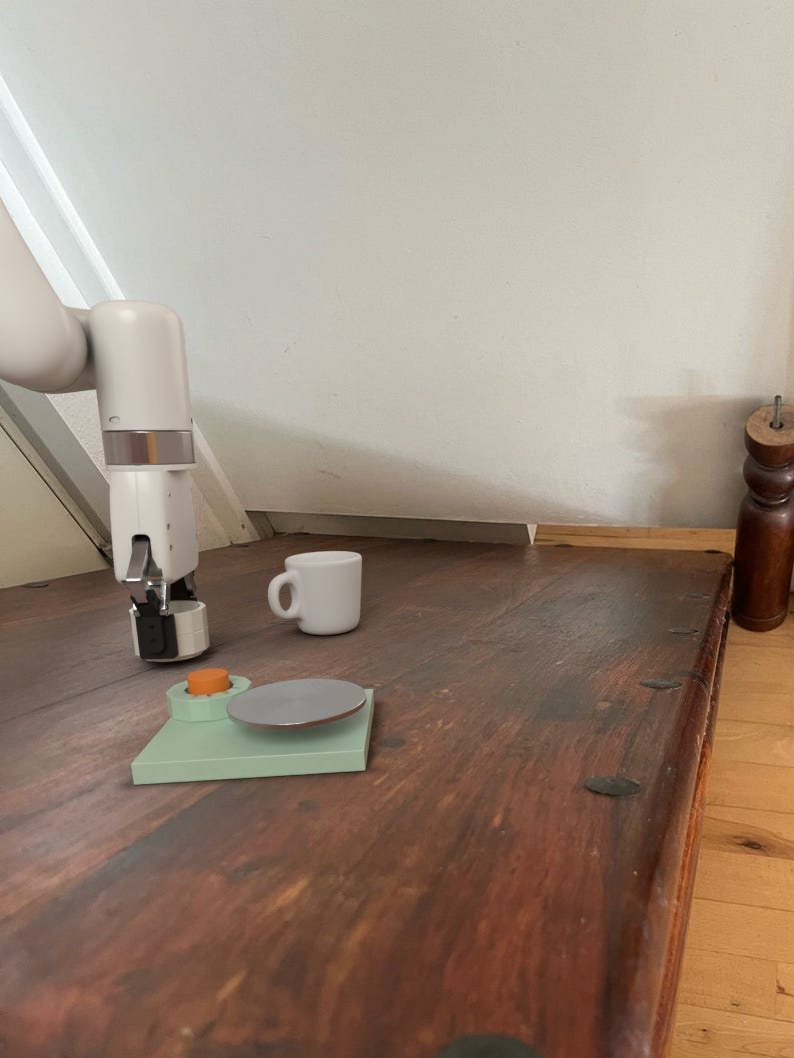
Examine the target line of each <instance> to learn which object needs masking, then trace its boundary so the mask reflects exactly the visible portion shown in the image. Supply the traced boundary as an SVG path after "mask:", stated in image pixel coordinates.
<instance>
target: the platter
mask: <svg viewBox="0 0 794 1058" xmlns="http://www.w3.org/2000/svg"><path fill="white" fill-rule="evenodd" d="M364 689H365V688H363V687H361V686H360V685H358V684H356V683H354V682H350V681H347V680H346V681H345V680H341V679H333V678H300V679H290V680H282V681H276V682H272V683H268V684H264V685H261V686H260V685H259V686H256V687H254V688H252V689H251V690H248V691H246V692H244V693H242V694H240V695H238V696H236V697H235V698H233V699H232V700H231V701H230V702H229V703H228V705H227V715H228V718H229V719H230V720H231V721H232V722H234V723H236V724H238V725H241V726H244V727H248V728H254V729H262V730H292V729H302V728H309V727H315V726H320V725H324V724H328V723H332V722H335V721H338V720H341V719H344V718H346V717H349V716H351V715H353V714H355V713H356V712H358V711H359V710H360V709H361V708H363V706H364V705H365V703H366V692H365V690H364Z"/></svg>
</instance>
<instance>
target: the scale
mask: <svg viewBox="0 0 794 1058" xmlns="http://www.w3.org/2000/svg"><path fill="white" fill-rule="evenodd" d="M228 676H229V684H230V689H228V690H226V691H224V692H219V693H214V694H209V695H192V694H189V690H188V682H187V679H186V680H184V681H182V682H179V683H175V684H173V685H172V686H170V687H169V688H168V690H167V691H166V692H165V699H166V706H167V714H168V715H169V717H170V718H168V720H167V721H166V722H165V723H164V725H163V726H162V727H161V728H160V729H159V730H158V732H157V733H155V735H154V736H153V737H152V739H151V740H150V741H149V742H148V743H147V744H146V746H145V747H144V748H143V749H142V750H141V751H140V753H139V754H138V755H137V756H136V757H135V758H134V759H133V761H132V762H131V763H130V769H131V775H132V782H133V785H135V786H136V785H153V784H169V783H170V784H171V783H189V782H205V781H219V780H220V781H221V780H235V779H250V778H251V779H252V778H269V777H282V776H283V777H284V776H302V775H318V774H331V773H333V774H334V773H347V772H348V773H349V772H350V773H351V772H363V771H366V769H367V763H368V762H367V761H368V755H369V748H370V740H371V734H372V733H371V732H372V725H373V718H374V710H375V695H374V693H375V692H374V688H363V689H364V690H365V692H366V703H365V705H364V706H363V708H361V709H360V710H359V711H358V712H356V713H355V714H353V715H351V716H349V717H346V718H344V719H341V720H338V721H335V722H332V723H328V724H324V725H320V726H315V727H309V728H302V729H292V730H262V729H254V728H248V727H244V726H241V725H238V724H236V723H234V722H232V721H231V720H230V719H229V718H228V715H227V705H228V703H229V702H230V701H231V700H232V699H233V698H235V697H236V696H238V695H240V694H242V693H244V692H246V691H248V690H251V689H253V683H252V681H251V680H250V679H248V678H247V677H245V676H238V675H232V674H228Z"/></svg>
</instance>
